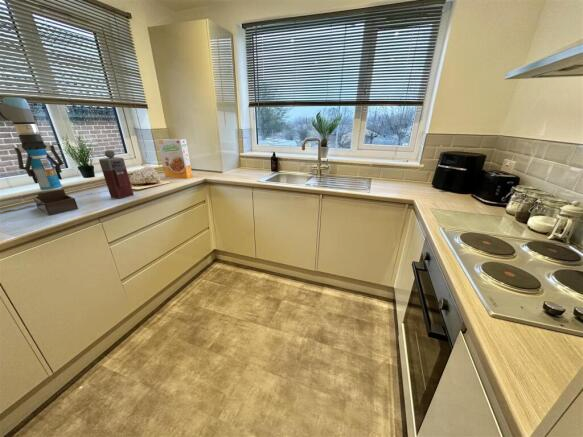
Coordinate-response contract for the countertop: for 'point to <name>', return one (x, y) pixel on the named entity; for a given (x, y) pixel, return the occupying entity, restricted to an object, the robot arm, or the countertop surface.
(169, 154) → the cereal box
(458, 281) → the countertop surface
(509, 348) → the countertop surface
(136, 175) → the bread loaf on board
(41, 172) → the beverage bottle
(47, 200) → the caddy
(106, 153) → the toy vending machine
